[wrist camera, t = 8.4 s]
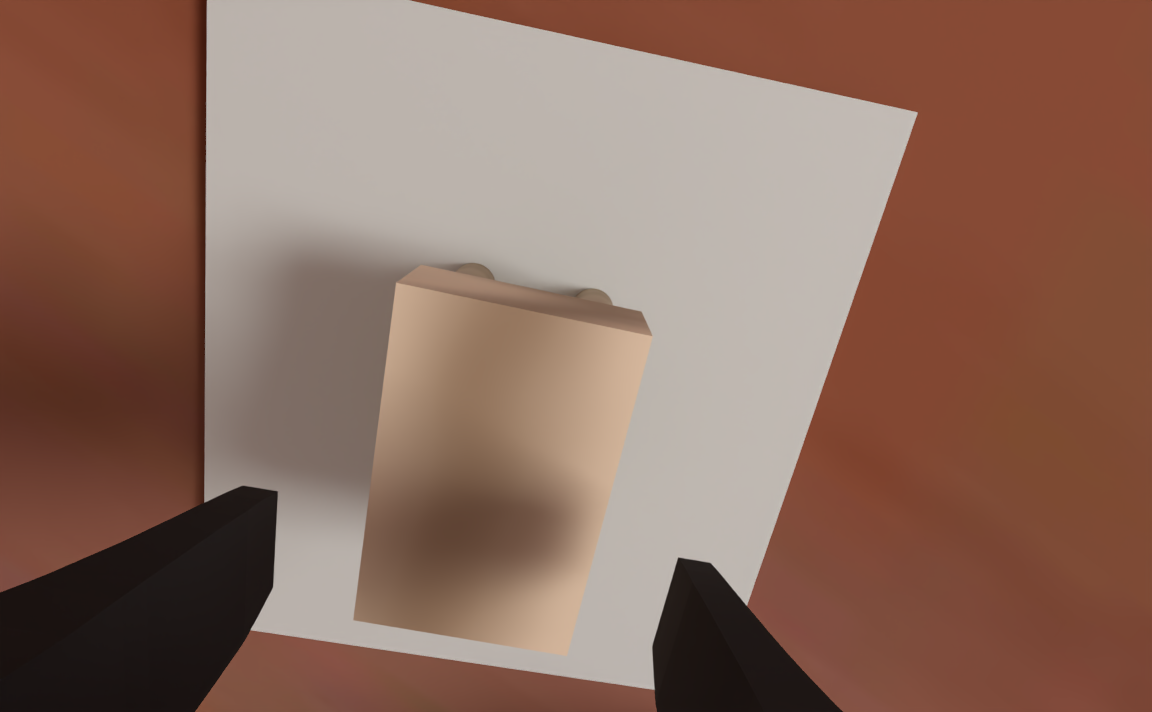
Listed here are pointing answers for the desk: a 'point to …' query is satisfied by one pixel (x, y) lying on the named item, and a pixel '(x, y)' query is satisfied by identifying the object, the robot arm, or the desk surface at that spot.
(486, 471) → the tan plank with pegs
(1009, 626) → the desk surface
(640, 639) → the mat
